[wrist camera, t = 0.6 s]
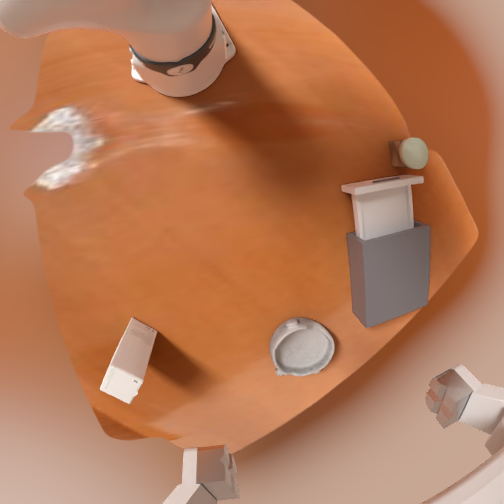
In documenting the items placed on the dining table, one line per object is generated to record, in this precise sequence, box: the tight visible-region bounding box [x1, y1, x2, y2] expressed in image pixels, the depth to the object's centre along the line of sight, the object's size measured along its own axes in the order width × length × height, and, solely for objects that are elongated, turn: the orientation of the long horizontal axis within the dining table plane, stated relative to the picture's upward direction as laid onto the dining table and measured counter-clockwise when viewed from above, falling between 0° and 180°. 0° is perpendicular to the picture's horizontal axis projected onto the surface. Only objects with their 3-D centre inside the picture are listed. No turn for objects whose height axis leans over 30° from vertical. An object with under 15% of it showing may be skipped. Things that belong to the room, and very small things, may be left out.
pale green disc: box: [399, 138, 429, 169], centre depth 45 cm, size 6×6×2 cm
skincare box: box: [100, 318, 158, 404], centre depth 48 cm, size 8×7×16 cm
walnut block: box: [389, 141, 406, 167], centre depth 48 cm, size 5×5×4 cm
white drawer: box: [341, 174, 424, 241], centre depth 51 cm, size 18×16×6 cm
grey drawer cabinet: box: [346, 220, 430, 328], centre depth 53 cm, size 18×16×7 cm
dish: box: [270, 317, 335, 376], centre depth 58 cm, size 14×14×5 cm
